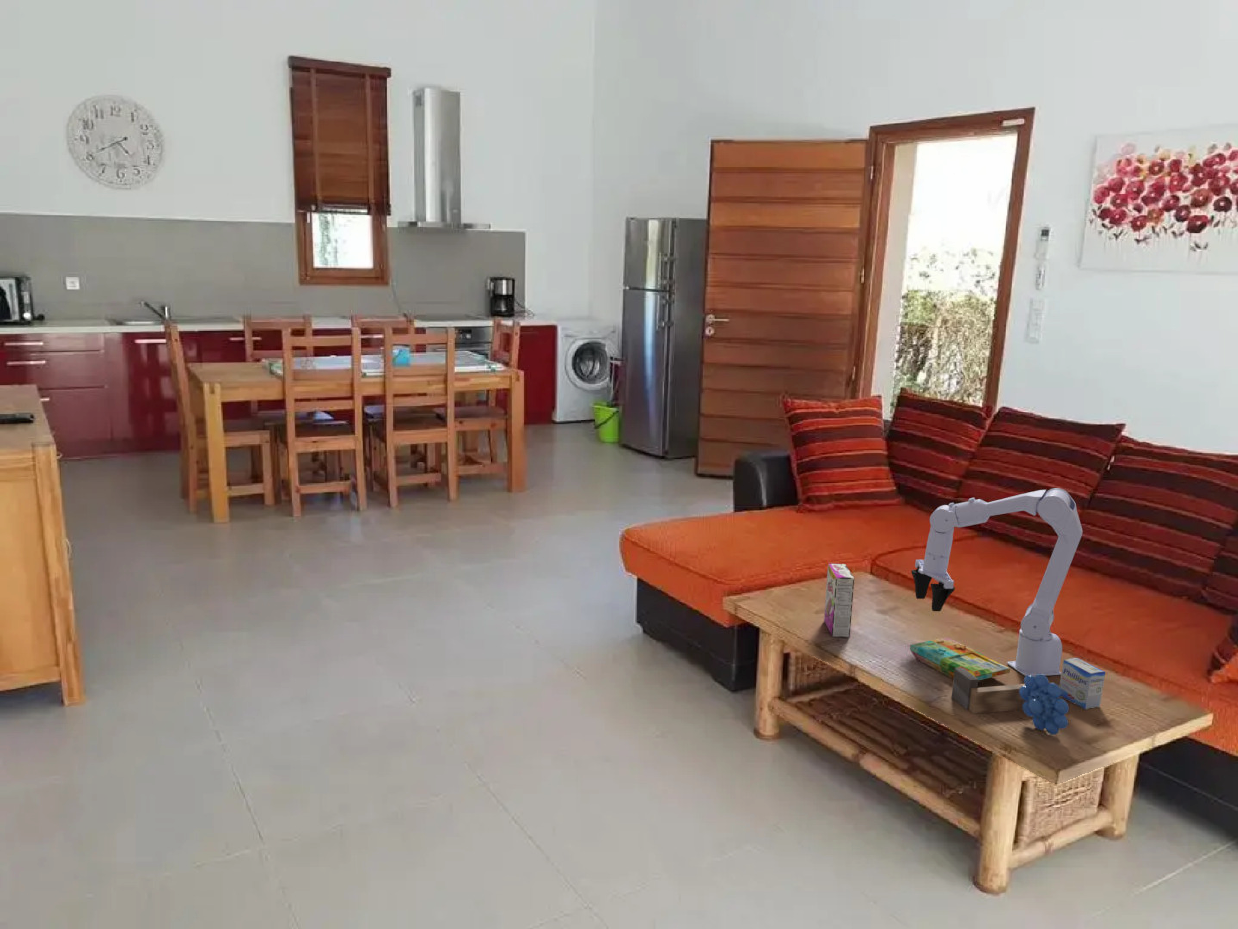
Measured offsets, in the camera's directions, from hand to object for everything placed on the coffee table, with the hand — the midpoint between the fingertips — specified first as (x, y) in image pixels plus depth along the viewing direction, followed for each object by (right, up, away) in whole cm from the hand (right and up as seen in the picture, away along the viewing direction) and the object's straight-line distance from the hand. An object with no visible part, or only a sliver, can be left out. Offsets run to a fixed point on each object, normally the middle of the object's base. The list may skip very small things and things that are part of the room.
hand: (928, 604), depth 241 cm
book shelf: (+7, -18, -27) cm, 33 cm away
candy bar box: (-20, -8, +12) cm, 25 cm away
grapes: (+10, -21, -39) cm, 46 cm away
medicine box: (+26, -18, -25) cm, 40 cm away
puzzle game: (+4, -15, -11) cm, 18 cm away
